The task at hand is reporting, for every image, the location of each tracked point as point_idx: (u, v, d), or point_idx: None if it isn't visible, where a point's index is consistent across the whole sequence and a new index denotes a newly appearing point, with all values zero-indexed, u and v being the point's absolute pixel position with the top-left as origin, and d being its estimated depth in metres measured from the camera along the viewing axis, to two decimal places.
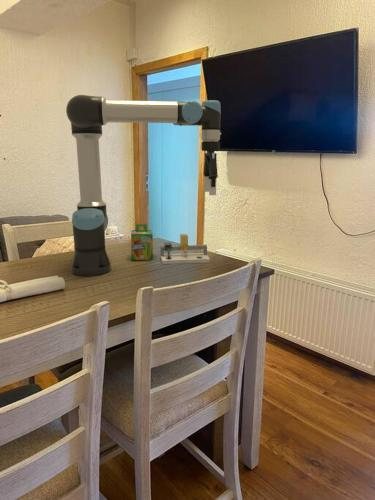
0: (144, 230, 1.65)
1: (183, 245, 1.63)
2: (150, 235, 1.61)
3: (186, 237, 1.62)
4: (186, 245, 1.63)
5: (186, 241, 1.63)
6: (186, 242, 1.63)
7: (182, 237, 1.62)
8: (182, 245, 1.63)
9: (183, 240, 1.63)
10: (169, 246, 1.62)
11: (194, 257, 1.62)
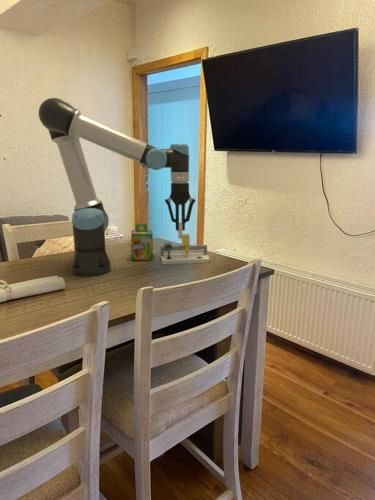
0: (144, 230, 1.65)
1: (185, 245, 1.63)
2: (150, 235, 1.61)
3: (188, 237, 1.63)
4: (188, 245, 1.63)
5: (188, 241, 1.63)
6: (188, 242, 1.63)
7: (184, 237, 1.62)
8: (184, 245, 1.63)
9: (185, 240, 1.63)
10: (169, 246, 1.62)
11: (194, 257, 1.62)
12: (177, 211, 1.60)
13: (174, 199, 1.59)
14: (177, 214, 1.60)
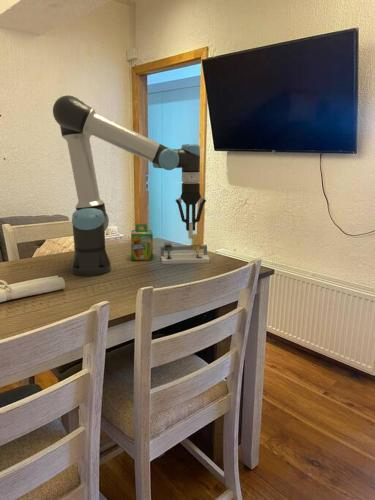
0: (144, 230, 1.65)
1: (195, 245, 1.64)
2: (150, 235, 1.61)
3: (198, 237, 1.63)
4: (198, 245, 1.64)
5: (198, 241, 1.64)
6: (198, 242, 1.64)
7: (194, 237, 1.63)
8: (194, 245, 1.64)
9: (195, 240, 1.63)
10: (169, 246, 1.62)
11: (194, 257, 1.62)
12: (188, 211, 1.60)
13: (185, 199, 1.59)
14: (188, 214, 1.61)
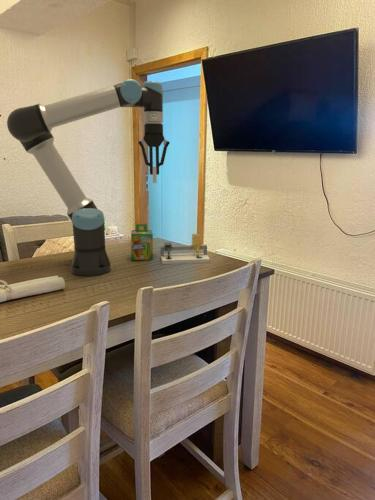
0: (144, 230, 1.65)
1: (195, 245, 1.64)
2: (150, 235, 1.61)
3: (198, 237, 1.63)
4: (198, 245, 1.64)
5: (198, 241, 1.64)
6: (198, 242, 1.64)
7: (194, 237, 1.63)
8: (194, 245, 1.64)
9: (195, 240, 1.63)
10: (169, 246, 1.62)
11: (194, 257, 1.62)
12: (151, 153, 1.56)
13: (147, 141, 1.54)
14: (151, 157, 1.56)
